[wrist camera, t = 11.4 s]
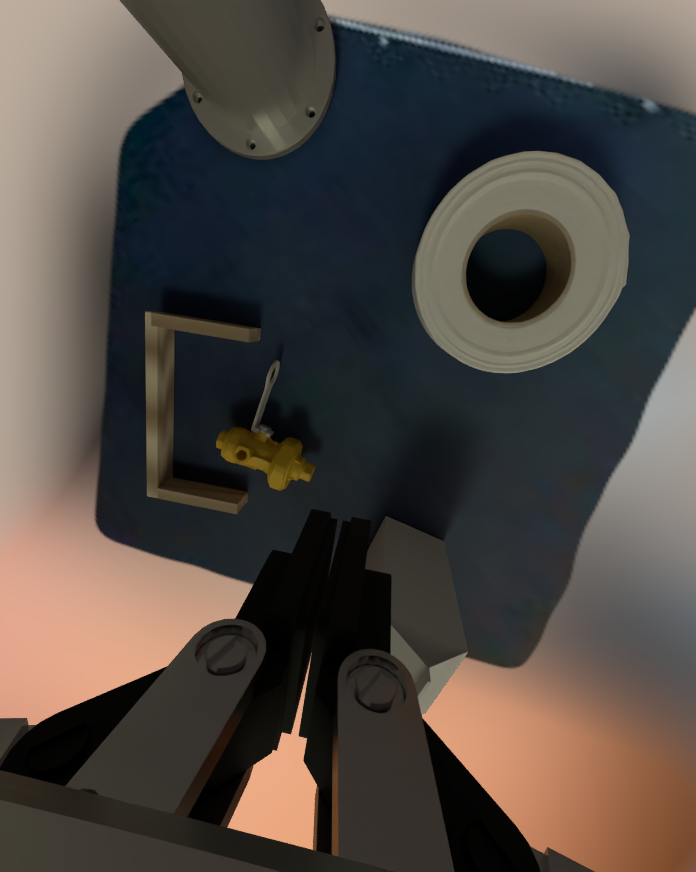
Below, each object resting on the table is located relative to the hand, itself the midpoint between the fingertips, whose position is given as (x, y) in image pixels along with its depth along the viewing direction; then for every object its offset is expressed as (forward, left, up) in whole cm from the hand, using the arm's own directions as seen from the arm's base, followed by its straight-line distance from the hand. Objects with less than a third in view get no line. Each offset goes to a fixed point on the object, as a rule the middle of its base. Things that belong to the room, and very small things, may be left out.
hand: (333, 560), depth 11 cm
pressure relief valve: (+4, -14, -27) cm, 31 cm away
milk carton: (+18, +6, -29) cm, 35 cm away
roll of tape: (-12, +9, -30) cm, 33 cm away
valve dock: (+6, -17, -29) cm, 34 cm away
